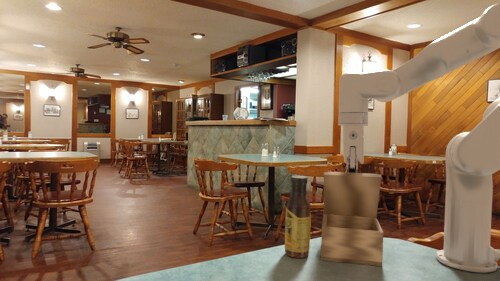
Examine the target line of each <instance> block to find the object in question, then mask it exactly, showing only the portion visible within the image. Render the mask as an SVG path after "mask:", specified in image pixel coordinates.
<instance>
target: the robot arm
mask: <svg viewBox="0 0 500 281" xmlns="http://www.w3.org/2000/svg"><path fill="white" fill-rule="evenodd" d="M499 49H500V2H498V3H495V4H493V5H491V6H489V7H488V8H487V9H485V10H484V11H483V13H482V14H481V15H480V16H479V17H478V18H476V19H474V20H472V21H470V22H468V23H466V24H464V25H463V26H461V27H459V28H457V29H455V30H453V31H451V32H449V33H448V34H445V35H444V36H441V37H440V38H438V39H436V40H434V41H432V42H431V43H429V44H428V45H427V46H425V47H424V48H423V49H422V50H421V51H419V53H418V54H416V55H415V56H414V57H412V58H411V59H409V60H408V61H406V62H404V63H402V64H401V65H399V66H397V67H396V68H393V69H391V70H390V69H379V70H375V71H367V72H359V71H358V72H354V71H353V72H345V73H343V74H342V75H340V77H339V84H338V86H339V87H338V120H337V121H338V127H339V126H341V127H342V154H343V162H344V163H345V164H346V173H358V167H359V163H360V164H361V165H363V164H364V163H365V160H364V159H365V156H364V154H365V127H368V126H369V124H368V123H369V99H371V100H376V101H377V102H380V103H388V102H391V101H394V100H395V99H397V98H401V97H402V96H404V95H405V94H408V93H410V92H413V91H414V90H416V89H418V88H420V87H422V86H424V85H425V84H429V83H431V82H433V81H435V80H437V79H440V78H442V77H444V76H445V75H447V74H450V73H451V72H454V71H455V70H457V69H459V68H462V67H463V66H466V65H468V64H469V63H472V62H474V61H476V60H478V59H480V58H483V57H485V56H486V55H488V54H490V53H492V52H494V51H496V50H499ZM358 162H359V163H358ZM498 171H500V96H498V97H497V98H496V99H495V100H494V101H492V102H491V103H490V104H489V105H488V106H487V108H486V109H485V111H483V115H482V120H481V121H479V123H478V124H477V125H476V126H474V128H472V129H471V130H470V131H465V132H461V133H458V134H456V135H454V136H453V137H452V138H451V139H450V140H449V141H448V144H447V146H446V150H445V179H446V180H445V181H446V182H445V202H444V203H445V206H444V226H443V228H444V229H443V230H444V231H443V232H444V233H443V249H440V250H438V251H436V253H435V255H436V259H437V261H439V262H440V263H441V264H443V265H445V266H447V267H450V268H453V269H457V270H461V271H465V272H472V273H481V274H483V273H484V274H485V273H486V274H487V273H492V272H495V271H496V270H497V269H498V261H499V260H500V249H499V248H498V249H495V248H494V247H492V246H491V236H492V234H491V233H492V232H491V231H492V213H493V212H492V211H493V193H494V192H493V190H494V189H493V188H494V186H493V183H494V182H493V174H495V173H496V172H498Z"/></svg>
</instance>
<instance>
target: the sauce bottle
mask: <svg viewBox="0 0 500 281" xmlns="http://www.w3.org/2000/svg"><path fill="white" fill-rule="evenodd" d="M290 182H291V183H290V184H291V189H290V190H291V191H290V194H289V197H288V200H287V203H286V206H285V219H284V220H285V224H284V253H285V254H286V255H287V256H288V257H290V258H295V259H297V258H299V259H301V258H307V256H309V253H310V242H311V241H310V239H311V221H312V220H311V218H312V217H311V207H312V205H311V202H310V199H309V198H308V195H307V193H308V192H307V185H308V176H305V175H292V176H291V178H290Z"/></svg>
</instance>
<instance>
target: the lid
mask: <svg viewBox="0 0 500 281" xmlns="http://www.w3.org/2000/svg"><path fill="white" fill-rule="evenodd" d="M381 182H382V174H377V173H364V172H363V173H362V172H357V173H347V172H346V171H345V172H343V171H342V172H341V171H325V172H323V214H333V215H347V216H361V217H374V218H377V217H378V207H379V200H380V192H381V191H380V190H381V185H382V184H381Z"/></svg>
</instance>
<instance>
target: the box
mask: <svg viewBox="0 0 500 281" xmlns="http://www.w3.org/2000/svg"><path fill="white" fill-rule="evenodd" d="M320 249H321V250H320V252H321V253H320V261H325V262H335V263H344V264H345V263H346V264H354V265H355V264H356V265H363V266H364V265H366V266H376V267H383V252H384V250H383V249H384V231H383V228H382V227H381V224H380V222H379V220H378V219H377V217H366V216H352V215H338V214H324V213H323V216H322V223H321V244H320Z"/></svg>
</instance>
